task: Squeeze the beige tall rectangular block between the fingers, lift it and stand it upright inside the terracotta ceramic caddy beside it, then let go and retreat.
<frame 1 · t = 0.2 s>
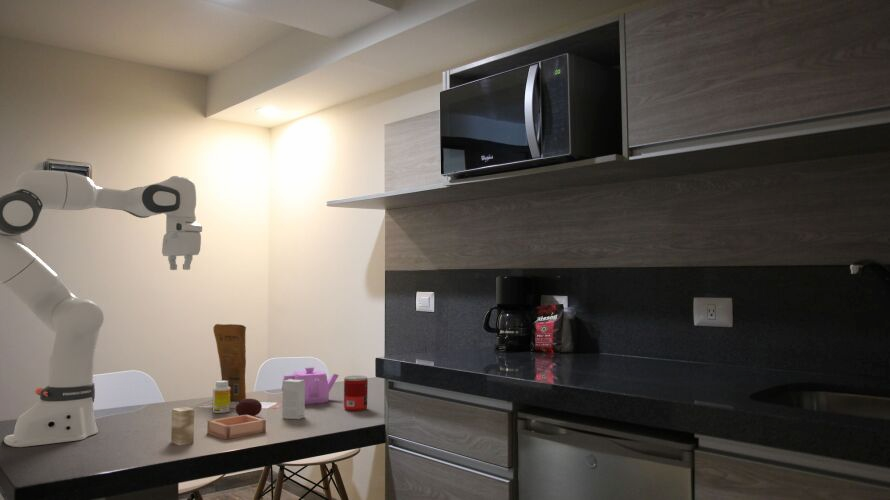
hand: (179, 269, 208), 48 cm above the table, fingers open, 8 cm apart
supplement bottle: (221, 412, 217), on the table
canned food: (355, 409, 223), on the table
potato: (247, 418, 209), on the table
beige tall rectangular block: (182, 442, 177), on the table
skincare box: (293, 418, 209), on the table
teakettle: (310, 401, 238), on the table
ceramic caddy: (236, 432, 188), on the table
pancake mix bag: (231, 399, 241), on the table
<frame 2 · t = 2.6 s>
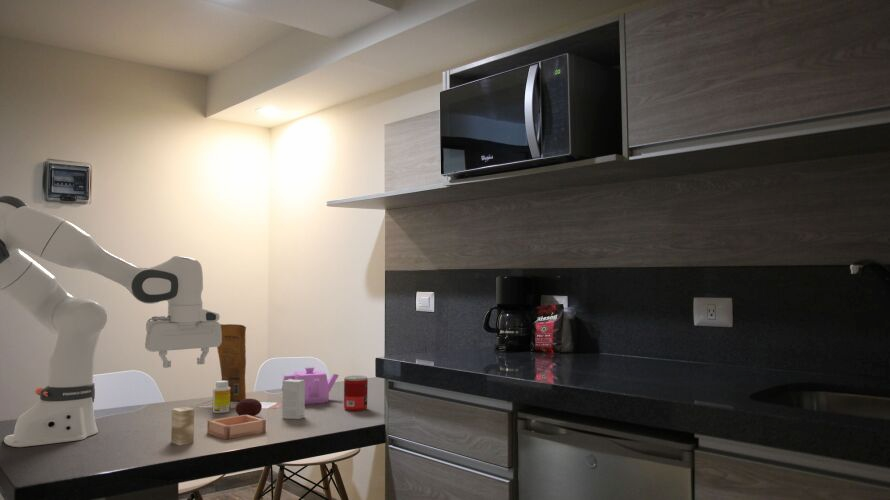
hand: (184, 365, 178), 21 cm above the table, fingers open, 8 cm apart
nothing on the table moved.
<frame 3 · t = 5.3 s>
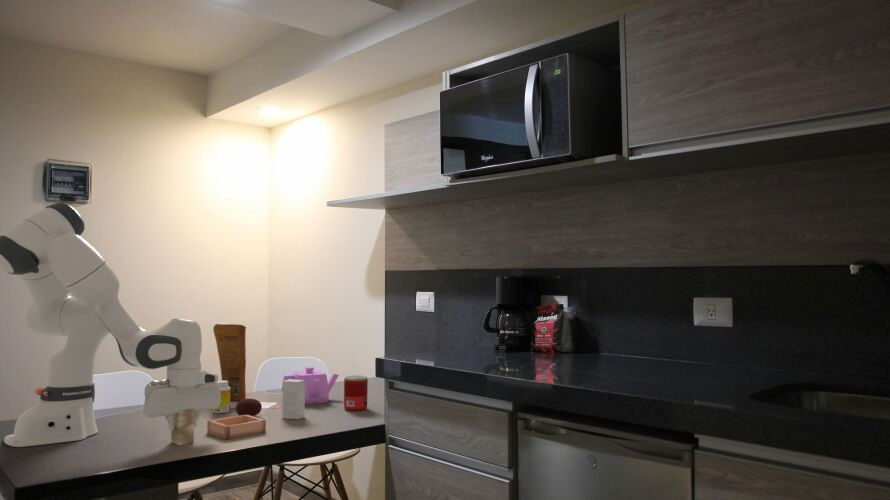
hand: (182, 428, 177), 4 cm above the table, fingers closed on beige tall rectangular block, 4 cm apart
beige tall rectangular block: (182, 442, 177), on the table, touching gripper
everything else where it was.
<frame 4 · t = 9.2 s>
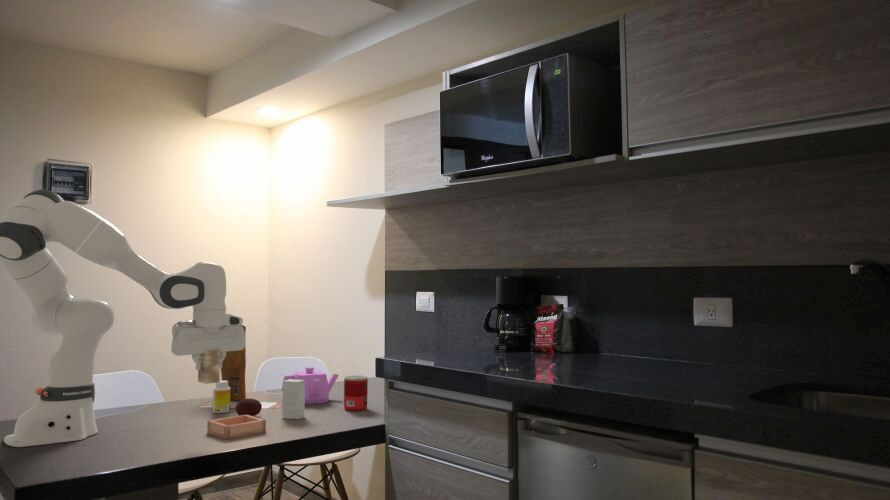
hand: (209, 369, 182), 19 cm above the table, fingers closed on beige tall rectangular block, 4 cm apart
beige tall rectangular block: (208, 382, 182), point 16 cm above the table, touching gripper
everything else where it was.
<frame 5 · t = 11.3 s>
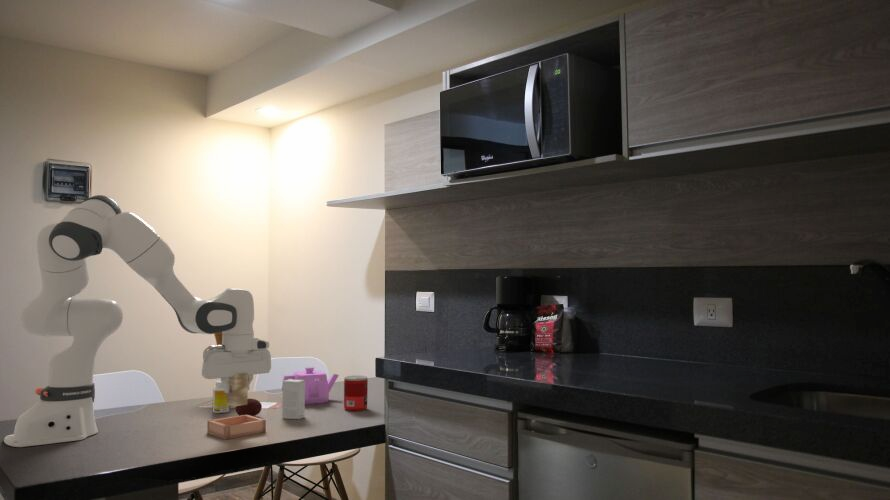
hand: (236, 391, 188), 12 cm above the table, fingers closed on beige tall rectangular block, 4 cm apart
beige tall rectangular block: (236, 404, 188), point 8 cm above the table, touching gripper
everything else where it was.
when the fingers open (6 cm above the table, at t = 13.1 s): beige tall rectangular block drops 1 cm, resting on ceramic caddy.
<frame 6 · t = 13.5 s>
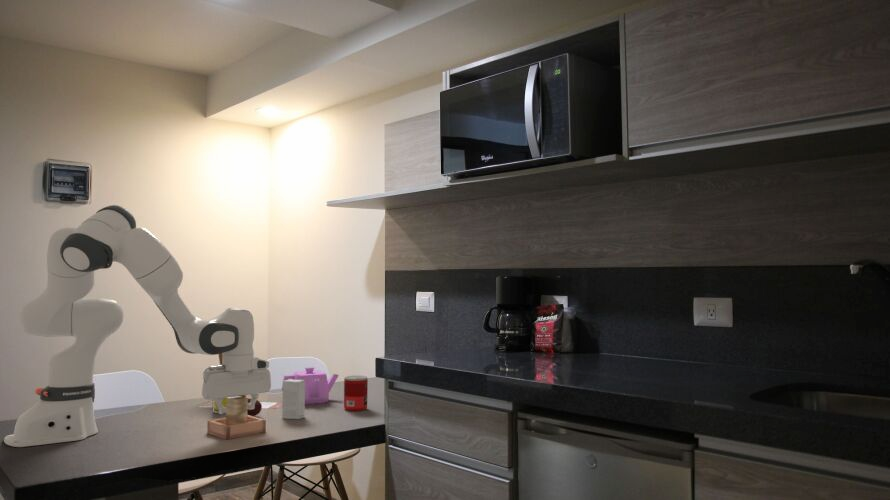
hand: (236, 411, 188), 6 cm above the table, fingers open, 8 cm apart
beige tall rectangular block: (236, 429, 188), point 1 cm above the table, touching ceramic caddy
everything else where it was.
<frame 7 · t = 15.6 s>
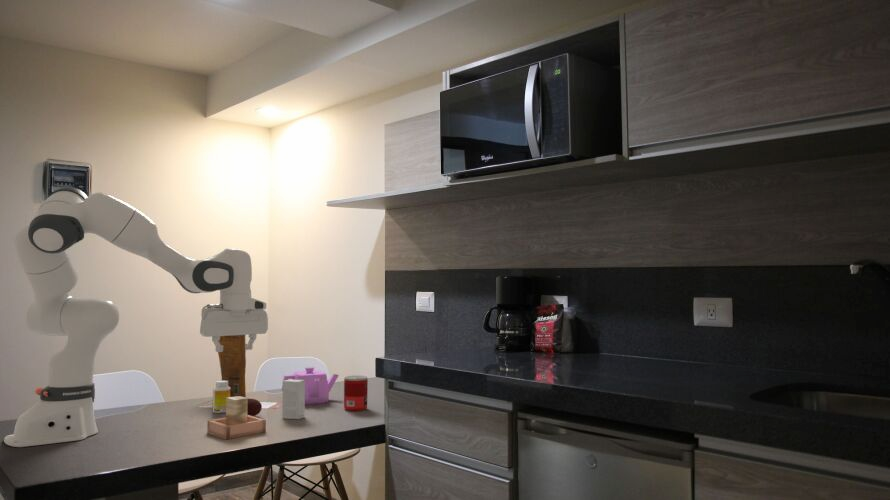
hand: (234, 350, 190), 24 cm above the table, fingers open, 8 cm apart
nothing on the table moved.
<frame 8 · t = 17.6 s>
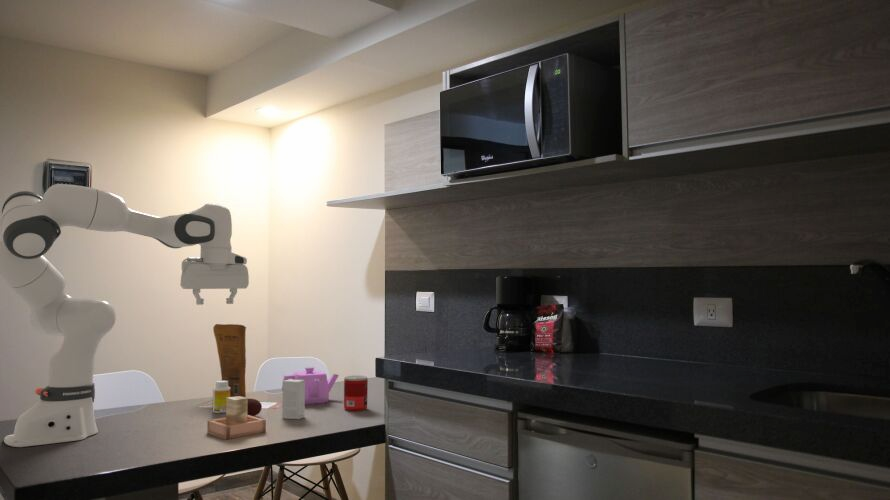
hand: (215, 304, 194), 37 cm above the table, fingers open, 8 cm apart
nothing on the table moved.
at the end: beige tall rectangular block inside the target area on the ceramic caddy (0.1 cm from its centre), point 1.0 cm above the ceramic caddy's base; beige tall rectangular block tilted 0°; the gripper is holding nothing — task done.
